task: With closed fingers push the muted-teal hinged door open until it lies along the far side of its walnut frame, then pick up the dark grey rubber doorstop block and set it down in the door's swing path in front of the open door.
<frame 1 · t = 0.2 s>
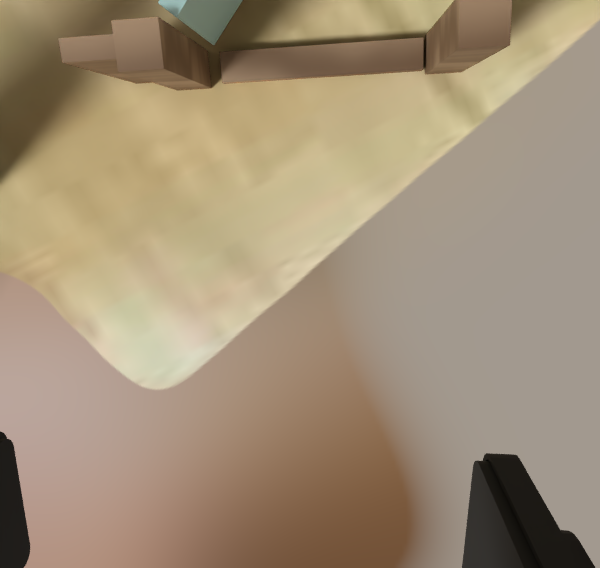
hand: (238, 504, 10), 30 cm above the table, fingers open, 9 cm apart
door frame: (192, 70, 37), on the table
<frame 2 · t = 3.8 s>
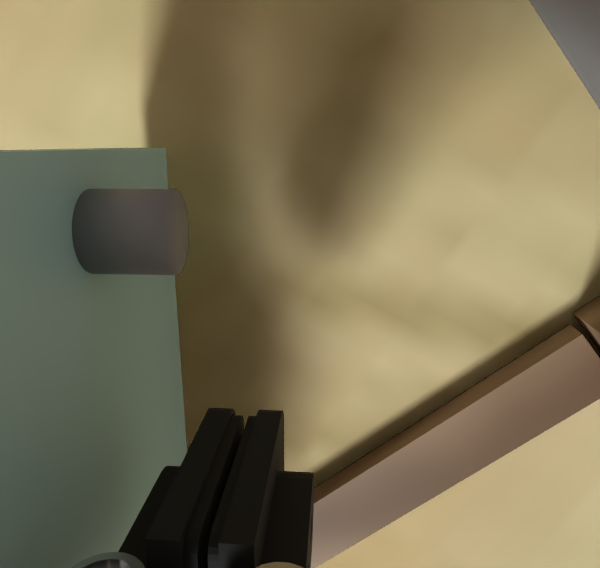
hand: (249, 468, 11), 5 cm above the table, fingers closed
door: (134, 469, 11), point 5 cm above the table, hinge at 51.4°, touching gripper
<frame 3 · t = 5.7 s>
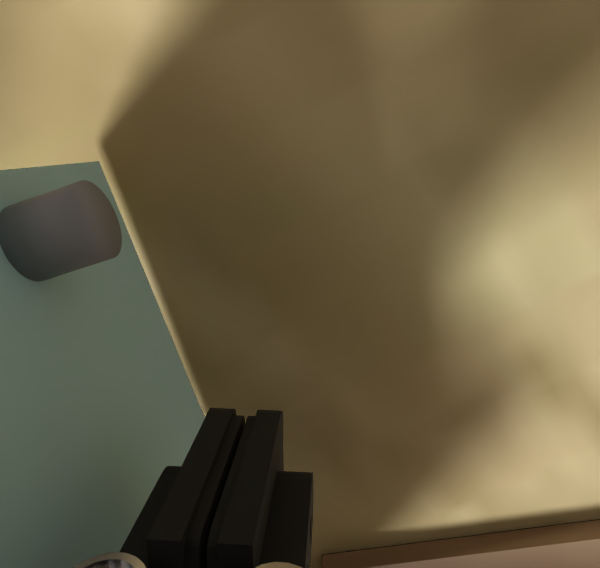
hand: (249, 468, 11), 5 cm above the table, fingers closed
door: (143, 457, 12), point 5 cm above the table, hinge at 95.3°, touching gripper
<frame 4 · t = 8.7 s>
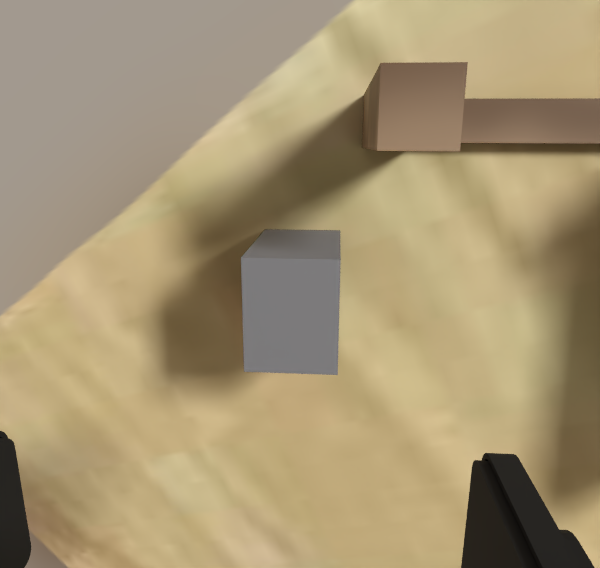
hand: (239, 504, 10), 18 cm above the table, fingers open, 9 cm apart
doorstop: (302, 275, 28), on the table
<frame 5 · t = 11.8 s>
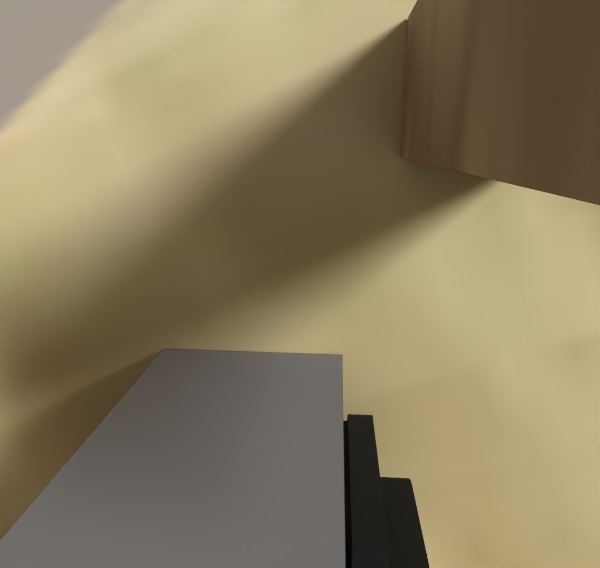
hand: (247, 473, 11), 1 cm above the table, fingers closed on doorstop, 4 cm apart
doorstop: (253, 450, 12), on the table, touching gripper
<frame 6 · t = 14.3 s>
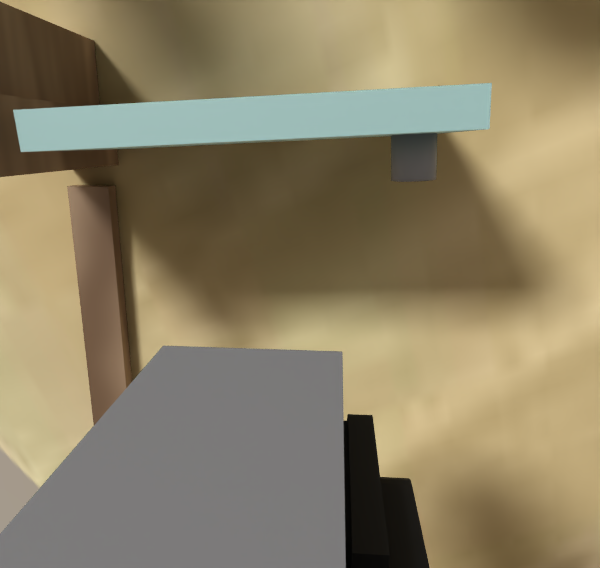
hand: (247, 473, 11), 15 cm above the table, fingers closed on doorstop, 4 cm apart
door frame: (90, 137, 25), on the table
door: (266, 146, 19), point 5 cm above the table, hinge at 93.2°
doorstop: (253, 447, 12), point 14 cm above the table, touching gripper
when the fingers open (2 cm above the table, at t = 17.0 s): doorstop drops 1 cm, on the table.
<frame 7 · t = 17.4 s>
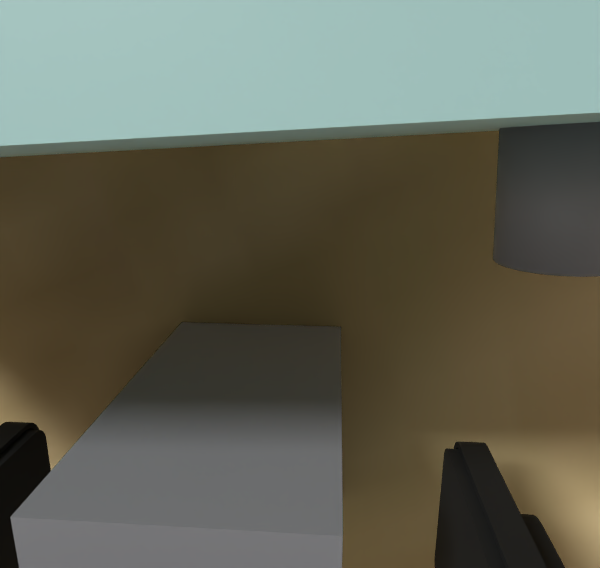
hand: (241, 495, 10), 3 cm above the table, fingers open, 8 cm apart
door: (133, 164, 7), point 5 cm above the table, hinge at 93.2°
doorstop: (262, 414, 13), on the table
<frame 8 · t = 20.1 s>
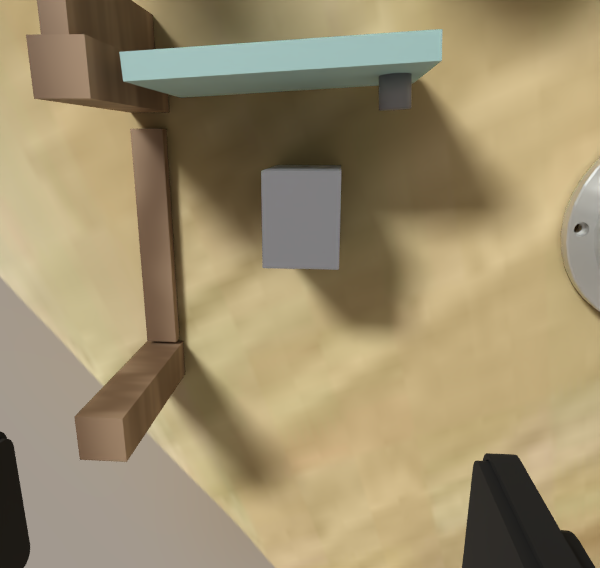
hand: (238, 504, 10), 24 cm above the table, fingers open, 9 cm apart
door frame: (148, 91, 32), on the table
door: (288, 86, 26), point 5 cm above the table, hinge at 93.2°
doorstop: (308, 205, 33), on the table
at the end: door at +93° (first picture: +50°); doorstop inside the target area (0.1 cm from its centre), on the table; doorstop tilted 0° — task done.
